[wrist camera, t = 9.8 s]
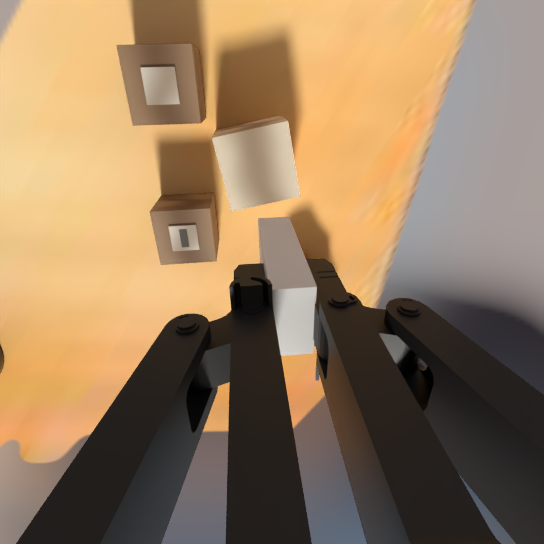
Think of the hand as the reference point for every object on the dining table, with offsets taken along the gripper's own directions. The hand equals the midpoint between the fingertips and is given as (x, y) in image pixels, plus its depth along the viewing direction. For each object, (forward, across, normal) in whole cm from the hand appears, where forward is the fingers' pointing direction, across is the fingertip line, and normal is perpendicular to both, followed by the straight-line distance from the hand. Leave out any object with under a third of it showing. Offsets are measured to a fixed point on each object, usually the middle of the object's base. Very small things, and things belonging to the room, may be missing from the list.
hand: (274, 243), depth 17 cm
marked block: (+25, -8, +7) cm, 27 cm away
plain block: (+25, 0, 0) cm, 25 cm away
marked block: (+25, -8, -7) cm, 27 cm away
